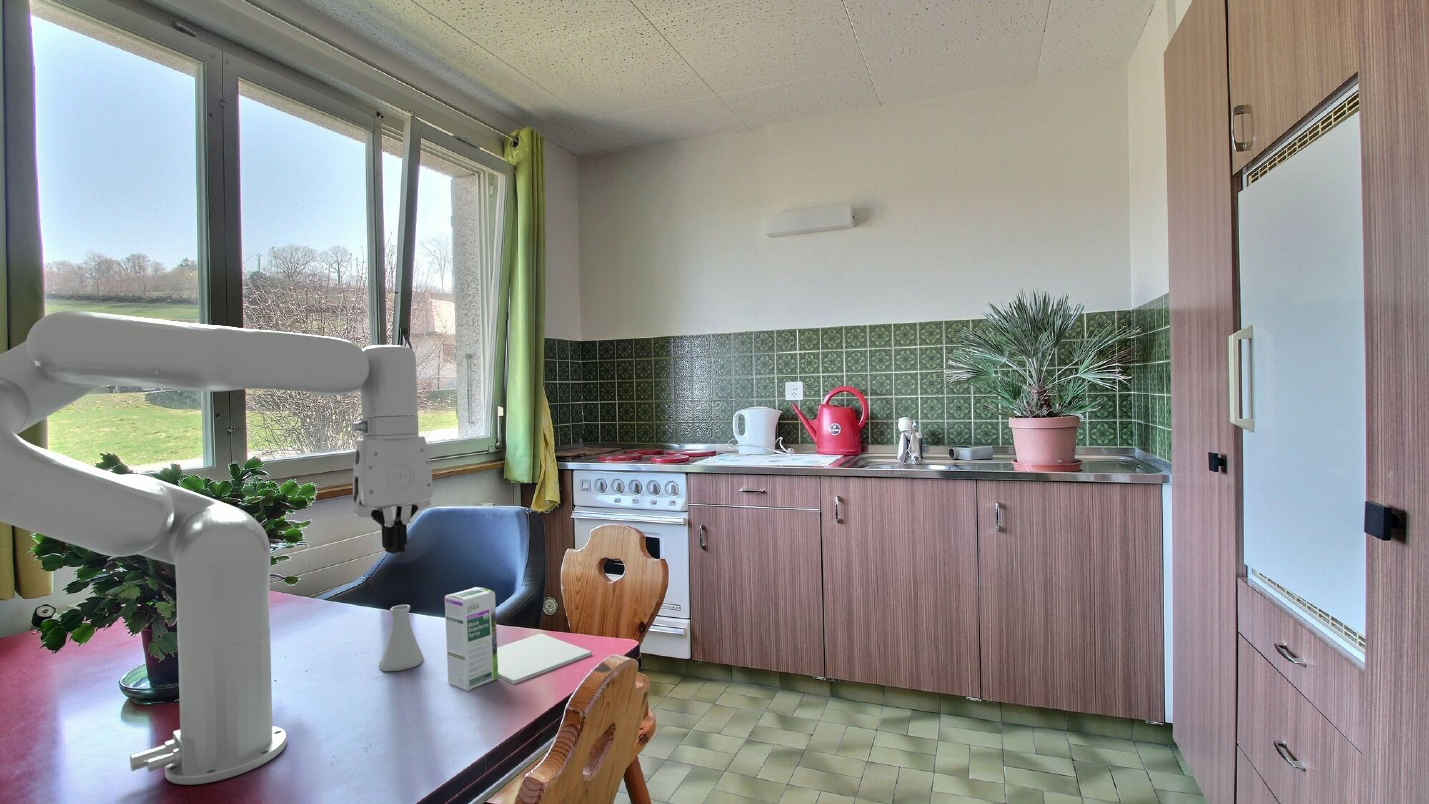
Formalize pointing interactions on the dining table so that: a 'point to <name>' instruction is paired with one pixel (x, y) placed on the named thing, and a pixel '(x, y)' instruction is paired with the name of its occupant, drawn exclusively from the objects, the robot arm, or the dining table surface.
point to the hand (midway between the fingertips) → (395, 551)
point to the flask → (400, 643)
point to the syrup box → (471, 638)
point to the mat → (535, 657)
